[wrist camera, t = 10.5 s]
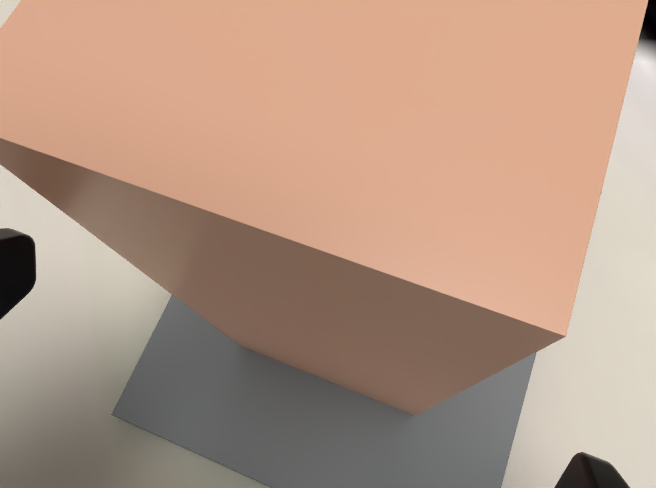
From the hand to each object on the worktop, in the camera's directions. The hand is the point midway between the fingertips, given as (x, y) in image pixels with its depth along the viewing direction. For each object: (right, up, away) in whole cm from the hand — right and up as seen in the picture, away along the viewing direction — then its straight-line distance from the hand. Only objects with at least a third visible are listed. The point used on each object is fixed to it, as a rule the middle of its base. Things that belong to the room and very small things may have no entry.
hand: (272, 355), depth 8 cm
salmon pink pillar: (+2, 0, +8) cm, 8 cm away
